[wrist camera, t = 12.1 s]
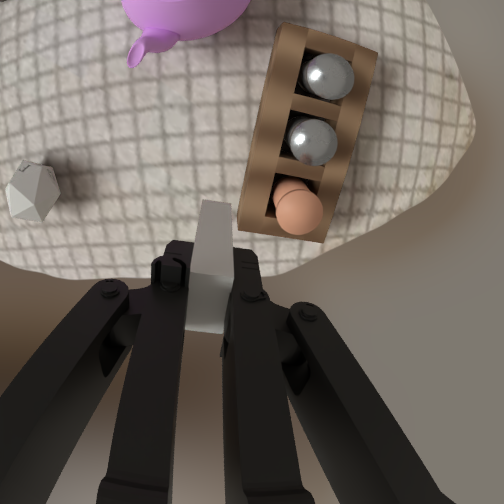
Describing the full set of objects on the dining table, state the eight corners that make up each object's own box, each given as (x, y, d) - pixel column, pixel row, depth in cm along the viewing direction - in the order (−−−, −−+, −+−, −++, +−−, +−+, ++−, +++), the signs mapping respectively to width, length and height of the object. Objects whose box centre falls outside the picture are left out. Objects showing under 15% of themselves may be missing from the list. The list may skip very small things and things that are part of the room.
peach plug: (274, 170, 39) (283, 187, 33) (313, 178, 40) (328, 196, 34) (265, 208, 41) (271, 231, 36) (303, 214, 42) (315, 238, 36)
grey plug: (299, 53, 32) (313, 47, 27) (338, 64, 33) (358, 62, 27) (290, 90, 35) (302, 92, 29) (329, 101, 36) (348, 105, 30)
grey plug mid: (286, 109, 36) (297, 114, 31) (325, 119, 37) (342, 126, 31) (276, 148, 39) (285, 160, 33) (315, 156, 40) (330, 170, 34)
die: (79, 178, 40) (38, 156, 30) (58, 234, 40) (12, 223, 30) (48, 166, 41) (8, 146, 31) (28, 217, 41) (-14, 205, 31)
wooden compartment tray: (277, 29, 31) (283, 21, 27) (362, 55, 33) (378, 52, 29) (236, 214, 45) (237, 230, 40) (314, 227, 47) (323, 243, 42)
